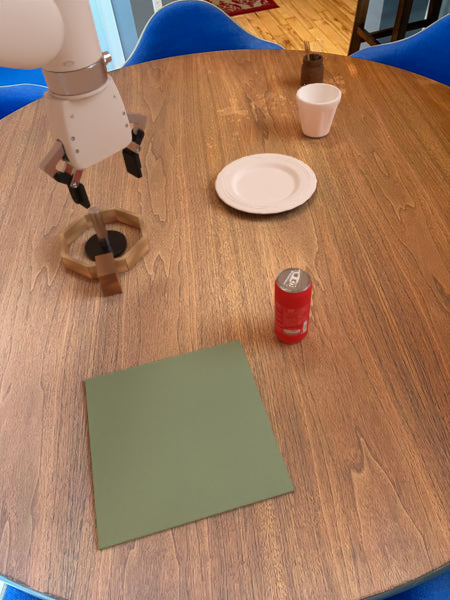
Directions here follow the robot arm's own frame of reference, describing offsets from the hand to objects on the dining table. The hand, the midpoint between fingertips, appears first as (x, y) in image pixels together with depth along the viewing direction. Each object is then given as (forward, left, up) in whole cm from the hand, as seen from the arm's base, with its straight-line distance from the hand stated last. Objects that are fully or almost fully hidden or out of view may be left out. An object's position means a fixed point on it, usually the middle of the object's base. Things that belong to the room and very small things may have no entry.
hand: (109, 189), depth 72 cm
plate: (+30, +16, -18) cm, 38 cm away
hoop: (-4, +6, -18) cm, 19 cm away
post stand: (-4, +9, -18) cm, 20 cm away
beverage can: (+22, -21, -18) cm, 35 cm away
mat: (+2, -32, -18) cm, 37 cm away
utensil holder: (+56, +56, -18) cm, 81 cm away
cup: (+48, +33, -18) cm, 61 cm away
